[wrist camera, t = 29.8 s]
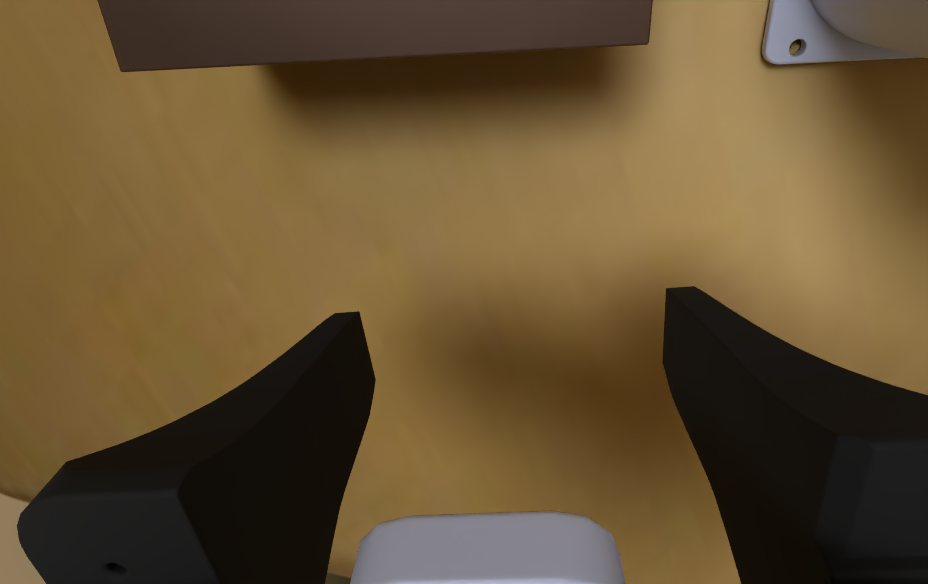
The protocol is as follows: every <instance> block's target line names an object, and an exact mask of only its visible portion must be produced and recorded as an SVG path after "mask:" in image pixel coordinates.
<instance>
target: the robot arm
mask: <svg viewBox="0 0 928 584" xmlns="http://www.w3.org/2000/svg"><path fill="white" fill-rule="evenodd" d="M797 39H799V40H800V41H801V47H800V50H799V51H798V52H797V53H795V54H792V55H791V54H790V53H789V47H790V45H791V43H792V42H794V41H795V40H797ZM762 55H763V57H764V59H765V60H767V61H768V62H770V63H772V64H799V63H819V62H840V61H861V60H882V59H902V58H923V57H925V58H928V0H770V5H769V11H768V16H767V22H766V28H765V33H764V39H763V45H762ZM663 365H664V369H665V373H666V377H667V380H668V384H669V387H670V391H671V394H672V398H673V400H674V403H675V405H676V407H677V410H678V412H679V414H680V416H681V419H682V421H683V423H684V426H685V428H686V430H687V432H688V434H689V437H690V439H691V441H692V443H693V446H694V448H695V450H696V452H697V455H698V457H699V459H700V461H701V463H702V466H703V468H704V470H705V472H706V475H707V477H708V480H709V482H710V485H711V487H712V490H713V492H714V495H715V498H716V501H717V505H718V508H719V511H720V514H721V517H722V520H723V524H724V527H725V530H726V533H727V536H728V540H729V543H730V547H731V550H732V553H733V557H734V560H735V563H736V567H737V570H738V574H739V577H740V581H741V584H928V395H925V394H921V393H917V392H914V391H910V390H906V389H903V388H900V387H897V386H893V385H890V384H887V383H884V382H881V381H878V380H875V379H872V378H869V377H866V376H864V375H861V374H858V373H855V372H852V371H849V370H847V369H844V368H842V367H839V366H837V365H834V364H832V363H830V362H827V361H825V360H823V359H821V358H818V357H816V356H814V355H811V354H809V353H807V352H805V351H803V350H801V349H799V348H797V347H795V346H793V345H791V344H789V343H787V342H785V341H783V340H781V339H779V338H778V337H776V336H774V335H772V334H770V333H768V332H767V331H765V330H763V329H762V328H760V327H758V326H756V325H755V324H753V323H751V322H750V321H748V320H747V319H745V318H743V317H742V316H740V315H739V314H737V313H735V312H734V311H732V310H731V309H729V308H728V307H726V306H725V305H723V304H722V303H720V302H718V301H717V300H715V299H714V298H712V297H711V296H709V295H708V294H706V293H705V292H703V291H701V290H700V289H698V288H696V287H694V286H692V287H678V288H666V302H665V323H664V344H663ZM375 381H376V380H375V375H374V371H373V367H372V363H371V359H370V354H369V350H368V346H367V342H366V338H365V333H364V329H363V325H362V321H361V317H360V312H346V313H335V314H333V315H332V316H330V317H329V318H327V319H326V320H325V321H323V322H322V323H321V324H320V325H318V326H317V327H316V328H315V329H313V330H312V331H311V332H310V333H309V334H307V335H306V336H305V337H304V338H303V339H301V340H300V341H299V342H298V343H296V344H295V345H294V346H293V347H291V348H290V349H289V350H288V351H286V352H285V353H284V354H283V355H281V356H280V357H279V358H277V359H276V360H275V361H273V362H272V363H271V364H269V365H268V366H266V367H265V368H264V369H262V370H261V371H260V372H258V373H257V374H256V375H254V376H253V377H251V378H250V379H249V380H247V381H246V382H244V383H242V384H241V385H239V386H238V387H236V388H235V389H233V390H231V391H230V392H228V393H226V394H225V395H223V396H221V397H220V398H218V399H216V400H215V401H213V402H211V403H209V404H207V405H205V406H203V407H201V408H199V409H197V410H196V411H194V412H192V413H190V414H188V415H186V416H184V417H182V418H180V419H178V420H176V421H174V422H172V423H170V424H167V425H165V426H163V427H160V428H158V429H156V430H154V431H151V432H149V433H146V434H144V435H142V436H139V437H137V438H134V439H132V440H129V441H126V442H124V443H121V444H118V445H116V446H113V447H110V448H107V449H104V450H101V451H98V452H95V453H92V454H89V455H86V456H83V457H80V458H77V459H74V460H71V461H67V462H66V463H65V464H64V465H63V466H62V467H61V468H60V470H59V471H58V472H57V473H56V474H55V475H54V476H53V478H52V479H51V480H50V481H49V482H48V483H47V484H46V486H45V487H44V488H43V489H42V490H41V491H40V492H39V493H38V495H37V496H36V497H35V498H34V499H33V500H32V501H31V503H30V504H29V505H28V506H27V507H26V508H25V509H24V511H23V512H22V513H21V514H20V518H19V521H18V524H17V529H18V536H19V541H20V544H21V546H22V548H23V549H24V552H25V554H26V555H27V557H28V558H29V560H30V561H31V562H32V564H33V565H34V567H35V568H36V570H37V571H38V572H39V574H40V575H41V577H42V578H43V579H44V581H45V582H46V584H325V580H326V575H327V570H328V564H329V559H330V553H331V548H332V543H333V538H334V533H335V529H336V524H337V519H338V514H339V510H340V506H341V502H342V499H343V495H344V491H345V488H346V485H347V482H348V479H349V476H350V473H351V470H352V467H353V464H354V461H355V458H356V455H357V452H358V449H359V446H360V443H361V440H362V437H363V434H364V431H365V428H366V425H367V422H368V419H369V415H370V410H371V405H372V400H373V393H374V387H375ZM350 584H626V583H625V578H624V573H623V568H622V562H621V557H620V553H619V551H618V548H617V546H616V543H615V541H614V538H613V536H612V534H611V532H610V531H608V530H607V529H605V528H603V527H602V526H600V525H599V524H597V523H596V522H594V521H592V520H591V519H589V518H588V517H586V516H583V515H578V514H571V513H564V512H557V511H529V512H500V513H471V514H443V515H414V516H407V517H403V518H399V519H395V520H390V521H386V522H382V523H379V524H378V525H377V526H376V527H375V528H374V529H373V530H371V531H370V532H369V533H368V534H367V535H366V536H365V537H364V538H363V539H362V540H361V543H360V547H359V551H358V554H357V558H356V562H355V566H354V570H353V574H352V578H351V582H350Z"/></svg>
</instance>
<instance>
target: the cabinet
mask: <svg viewBox="0 0 928 584" xmlns="http://www.w3.org/2000/svg"><path fill="white" fill-rule="evenodd" d="M98 3H99V6H100V9H101V12H102V15H103V18H104V21H105V25H106V28H107V31H108V34H109V37H110V40H111V43H112V46H113V49H114V52H115V55H116V58H117V61H118V64H119V68H120V70H121V72H135V71H154V70H173V69H192V68H211V67H230V66H249V65H268V64H288V63H307V62H326V61H345V60H364V59H383V58H402V57H421V56H440V55H460V54H479V53H498V52H517V51H536V50H555V49H574V48H593V47H612V46H632V45H647V44H648V43H649V37H650V25H651V14H652V3H653V0H98Z"/></svg>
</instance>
